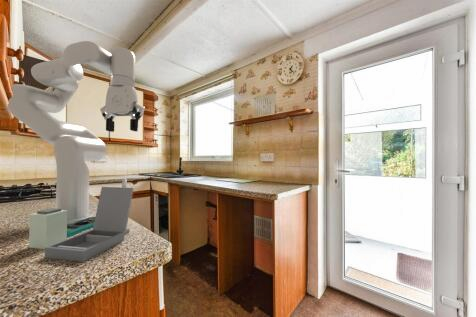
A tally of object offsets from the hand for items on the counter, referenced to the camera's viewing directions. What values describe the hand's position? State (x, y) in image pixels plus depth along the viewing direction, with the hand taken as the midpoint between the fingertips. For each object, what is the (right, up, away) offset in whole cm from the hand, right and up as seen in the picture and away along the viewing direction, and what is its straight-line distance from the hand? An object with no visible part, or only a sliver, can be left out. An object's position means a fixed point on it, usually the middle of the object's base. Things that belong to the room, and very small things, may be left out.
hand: (121, 131), depth 72 cm
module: (-7, -33, -21) cm, 40 cm away
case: (+5, -33, -23) cm, 40 cm away
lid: (+6, -24, -15) cm, 29 cm away
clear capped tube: (+8, -33, -13) cm, 36 cm away
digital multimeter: (-8, -34, -8) cm, 36 cm away
